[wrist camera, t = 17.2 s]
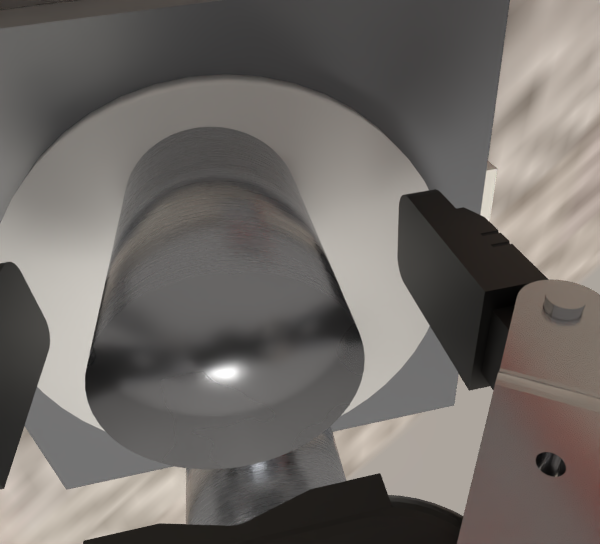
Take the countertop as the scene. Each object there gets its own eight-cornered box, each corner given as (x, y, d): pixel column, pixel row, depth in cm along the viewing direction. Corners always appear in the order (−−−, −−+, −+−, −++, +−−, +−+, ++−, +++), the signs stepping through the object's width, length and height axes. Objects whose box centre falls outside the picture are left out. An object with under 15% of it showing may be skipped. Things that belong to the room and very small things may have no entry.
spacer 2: (171, 359, 15) (163, 557, 11) (310, 330, 16) (364, 509, 11) (202, 445, 18) (208, 636, 13) (322, 418, 18) (369, 595, 13)
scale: (-121, 24, 13) (-253, 67, 9) (466, -48, 15) (568, -39, 11) (83, 409, 23) (61, 513, 19) (432, 338, 24) (481, 420, 20)
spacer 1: (99, 143, 11) (35, 306, 6) (288, 113, 12) (361, 246, 7) (150, 293, 14) (133, 491, 9) (305, 265, 14) (366, 438, 10)
